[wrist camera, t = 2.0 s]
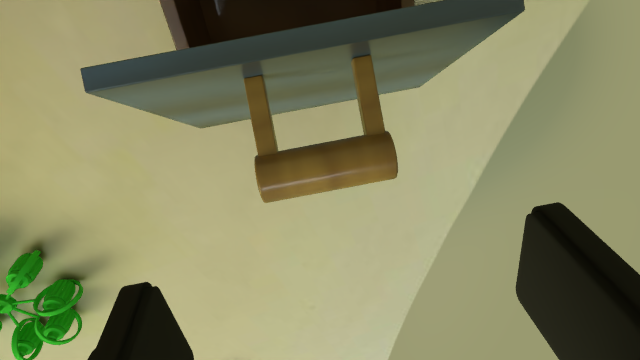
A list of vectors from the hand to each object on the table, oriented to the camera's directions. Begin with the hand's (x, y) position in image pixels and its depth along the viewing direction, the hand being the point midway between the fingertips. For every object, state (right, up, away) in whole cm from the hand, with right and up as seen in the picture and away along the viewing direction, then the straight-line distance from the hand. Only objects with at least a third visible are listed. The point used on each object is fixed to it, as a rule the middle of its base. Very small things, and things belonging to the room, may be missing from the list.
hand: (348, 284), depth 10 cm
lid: (-1, +8, +9) cm, 12 cm away
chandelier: (-32, -8, +31) cm, 46 cm away
